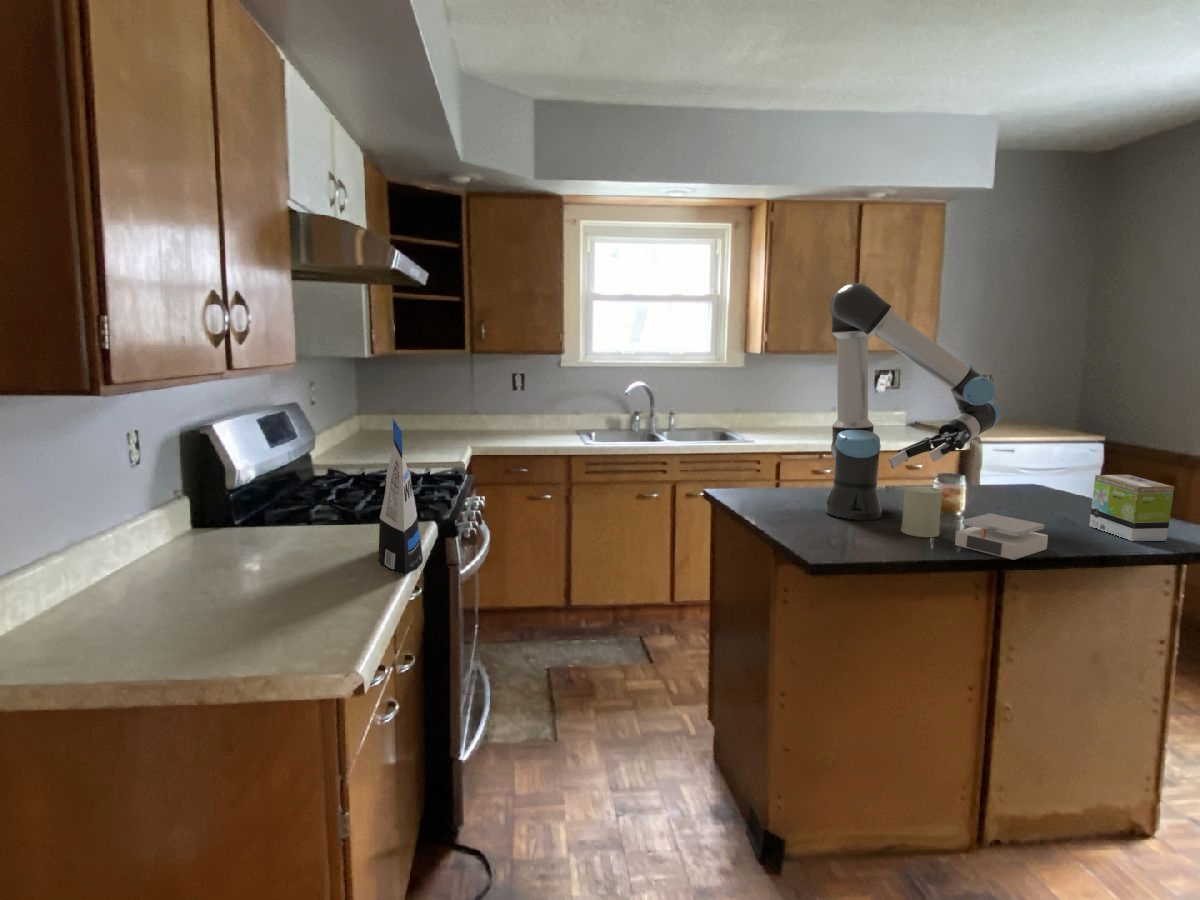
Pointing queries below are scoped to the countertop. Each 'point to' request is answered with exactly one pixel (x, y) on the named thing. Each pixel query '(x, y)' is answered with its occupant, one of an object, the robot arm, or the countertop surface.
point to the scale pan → (1002, 525)
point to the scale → (1001, 542)
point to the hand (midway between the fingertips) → (910, 460)
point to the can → (921, 511)
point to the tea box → (1131, 507)
